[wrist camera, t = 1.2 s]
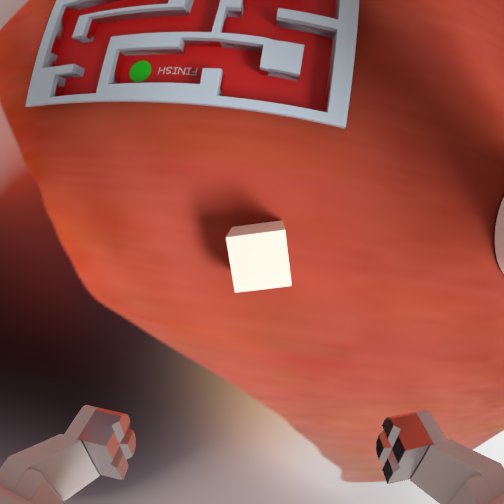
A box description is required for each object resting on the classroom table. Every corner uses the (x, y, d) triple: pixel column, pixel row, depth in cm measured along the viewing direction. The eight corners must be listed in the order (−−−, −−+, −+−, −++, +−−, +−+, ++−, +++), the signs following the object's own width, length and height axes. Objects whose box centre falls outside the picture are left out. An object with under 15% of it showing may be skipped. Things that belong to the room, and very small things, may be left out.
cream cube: (282, 220, 31) (285, 229, 26) (288, 268, 32) (291, 285, 27) (232, 226, 31) (225, 237, 26) (239, 274, 32) (234, 292, 27)
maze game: (354, -18, 23) (360, -32, 20) (338, 131, 28) (345, 127, 25) (80, -20, 23) (69, -29, 20) (41, 109, 28) (25, 106, 25)
